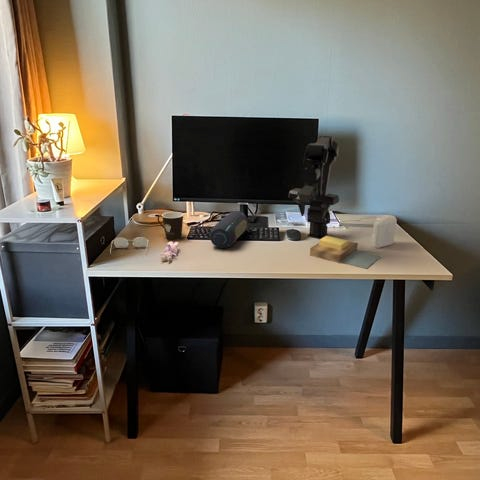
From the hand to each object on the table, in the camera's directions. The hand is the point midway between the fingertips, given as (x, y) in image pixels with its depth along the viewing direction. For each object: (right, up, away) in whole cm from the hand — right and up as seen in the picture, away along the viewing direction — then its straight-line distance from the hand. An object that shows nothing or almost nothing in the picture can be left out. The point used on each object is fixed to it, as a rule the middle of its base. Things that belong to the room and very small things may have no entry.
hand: (312, 217), depth 180 cm
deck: (+8, -13, -2) cm, 16 cm away
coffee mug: (-56, -7, +14) cm, 59 cm away
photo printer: (+29, -11, +7) cm, 32 cm away
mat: (+17, -16, -8) cm, 24 cm away
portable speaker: (-32, -9, +11) cm, 35 cm away
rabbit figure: (-54, -15, -5) cm, 56 cm away
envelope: (+25, -1, +34) cm, 42 cm away
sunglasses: (-70, -14, -1) cm, 72 cm away
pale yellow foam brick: (+8, -11, -2) cm, 13 cm away
